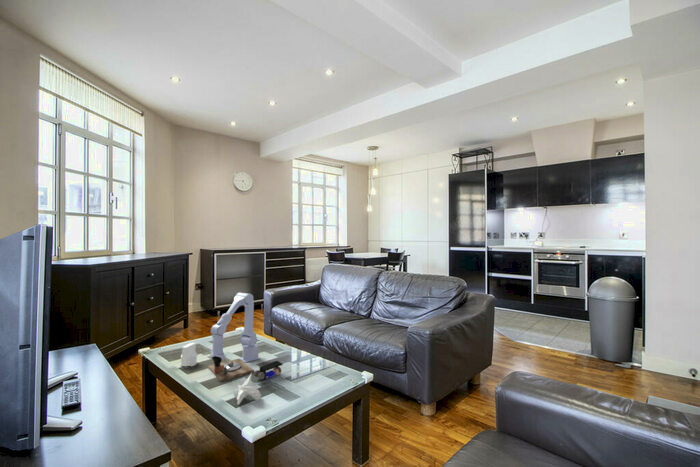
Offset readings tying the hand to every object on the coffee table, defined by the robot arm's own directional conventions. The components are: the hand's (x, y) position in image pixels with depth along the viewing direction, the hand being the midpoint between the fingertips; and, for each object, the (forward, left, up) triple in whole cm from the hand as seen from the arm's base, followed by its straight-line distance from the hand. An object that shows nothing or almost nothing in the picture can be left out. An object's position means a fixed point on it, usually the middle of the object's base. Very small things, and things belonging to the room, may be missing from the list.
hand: (217, 368), depth 189 cm
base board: (-8, 0, -3) cm, 8 cm away
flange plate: (-5, +1, -1) cm, 6 cm away
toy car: (-21, +24, -3) cm, 32 cm away
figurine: (-2, +40, -3) cm, 41 cm away
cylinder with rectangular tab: (+9, -26, -3) cm, 27 cm away
